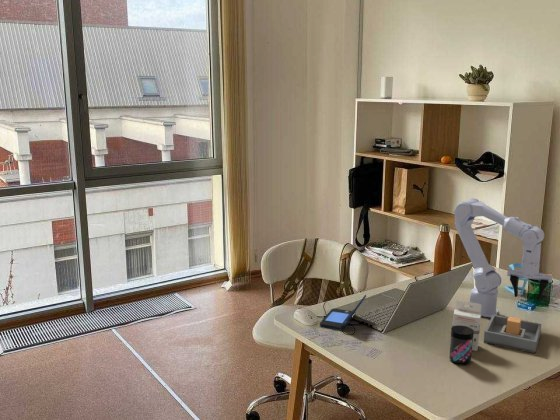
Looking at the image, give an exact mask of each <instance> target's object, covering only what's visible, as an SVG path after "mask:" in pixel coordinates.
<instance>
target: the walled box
mask: <svg viewBox="0 0 560 420" xmlns="http://www.w3.org/2000/svg"><path fill="white" fill-rule="evenodd" d="M508 317H509V316H508ZM508 317H507V316H501V315H498V314H497V315H492V317H491V318H490V320H489V322H488V323H487V326H486V328H485V330H484V332H483V343H485V344H489V345H490V344H491V345H493V346H494V345H495V346H499V347H503V348H508V349H513V350H518V351H523V352H527V353H530V354H536V351H537V347H538V344H539V341H540V337H541V332H542V323H538V322H533V321H528V320H522V319H521V328H522V329H525V336H524V338H519V337H515V336H510V335H505V334H501V330H502V328H503V326H504V325H506V326H507V320H508ZM505 333H506V332H505ZM520 336H521V335H520Z"/></svg>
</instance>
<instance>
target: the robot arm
mask: <svg viewBox="0 0 560 420" xmlns="http://www.w3.org/2000/svg"><path fill="white" fill-rule="evenodd" d="M453 214H454V227H455V229H456V231H457V233H458V235H459V238H460V240H461V242H462V245H463V247H464V249H465V251H466V253H467V255H468V258H469V260H470V262H471V265H472V266H473V268H474V271H473V278H474V286H475V288H472V289H471V290H470V295H469V296H470V297H469V302H471V303H477V304H481V305H482V306H481V317H484V318H490V319H491V317H492V315H497V316H498V313H499V310H498V309H497V303H498V294H499V291H498V288H499V286H501V284H502V277H501V275H500V274H499V272H497V271H496V269H495V267H494V266H493V265H492V264H491V265H490V263H488V260H487V257H486V255H485V253H484V251H483V249H482V246H481V245H480V242H479V240H478V238H477V235H476V233H475V231H474V229H473V226H472V225H473V222H474V220H475V218H476V217H484V218H486V219H487V220H490V221H492V222H495V223H496V224H499V225H501V226H502V227H503V230H504V231H505V232H507V233H509V234H510V235H513V236H514V237H516V238H518V239H519V240H521V242H522V244H523V246H522V258H521V264H522V267H521V268H520V269H521V270H519V269H518V270H517V269H514V270H510V269H507V272H506V273H507V274H506V276H507V277H509V276H510V277H509V281H510V283H512V284H511V286H513V289H514V294H515V295H514V294H513V295H514V297H515V298H517V297H518V296H519V295H518V294H519V289H518V287H519V281H520V280H519V277H521V278H528V280H535V281H539V288H538V289H539V291H538V295H537V297H538V298H537V301H539V302H541V299H542V297H543V296H542V295H543V294H544V292H545V290H546V288H547V286H548V285H549V283H552V281H553V275H551V274H547V273H546V274H545V273H542V272H540V264H541V263H540V262H541V252H542V241H543V240H544V239H545V232H544V230H543V229H542V228H540V226H536V225H535V226H533V225H532V224H530V223H526V222H524V221H522V220H521V219H520V217H518V216H515V217H514V216H510V217H508V216H506V215H504V214H502V213H501V212H499V211H498V210H495V209H494V208H492V207H491V206H489V205H487V204H486V203H485V202H484V201H482V200H479V199H478V198H469V199H468V200H464V201H460V202H457V204H456V205H455V207H454V209H453ZM513 289H512V290H513ZM468 307H470V308H473V306H470V305H468Z"/></svg>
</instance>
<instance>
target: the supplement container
mask: <svg viewBox="0 0 560 420" xmlns="http://www.w3.org/2000/svg"><path fill="white" fill-rule="evenodd" d="M473 335H474V330H473V329H471V328H470V327H467V326H461V325H457V326H453V327H452V326H451V328H450V340H449V342H450V343H449V360H450V361H451V363H452V364H455V365H459V366H466V365H469V364H470V363H471V362H472V358H473V357H472V355H473V350H472V345H473Z"/></svg>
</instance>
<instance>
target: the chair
mask: <svg viewBox="0 0 560 420" xmlns="http://www.w3.org/2000/svg"><path fill="white" fill-rule="evenodd" d="M508 266H509V270H515V268H520V269H521V267H522V262H521V263H520V262H514V263H511V264H509V265H508ZM508 277H509V278H510V276H508ZM528 280H529V279H528V278H521V277H519V281H523V284H522V286H518V290H520V293H519V294H520V296H524V291H525V287H526V285H527V282H528ZM510 283H511V282H510ZM504 289H505V290H506V291H508V292H510V293H511V294H513V295H514V296H515V294H514V289H513V286H512V283H511V285H505V286H504Z"/></svg>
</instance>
